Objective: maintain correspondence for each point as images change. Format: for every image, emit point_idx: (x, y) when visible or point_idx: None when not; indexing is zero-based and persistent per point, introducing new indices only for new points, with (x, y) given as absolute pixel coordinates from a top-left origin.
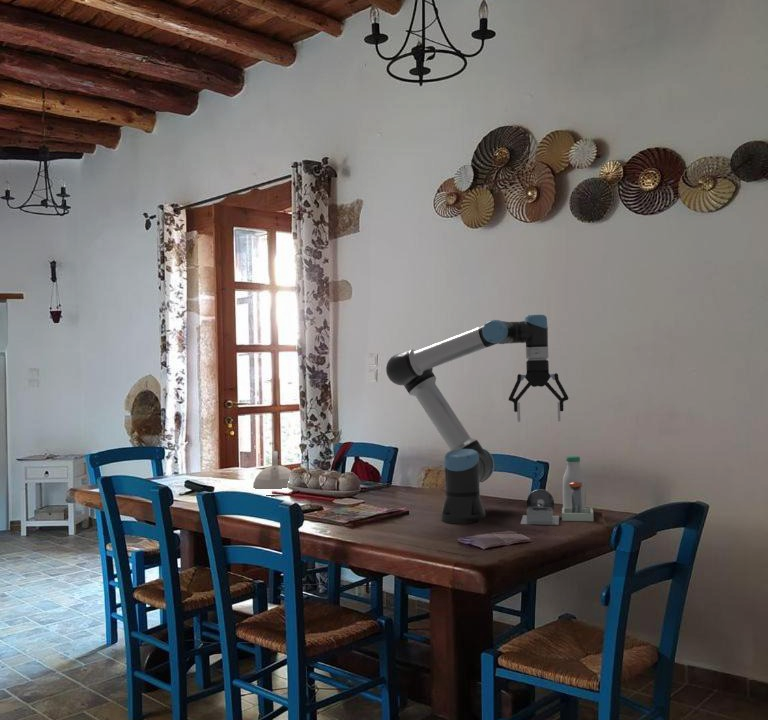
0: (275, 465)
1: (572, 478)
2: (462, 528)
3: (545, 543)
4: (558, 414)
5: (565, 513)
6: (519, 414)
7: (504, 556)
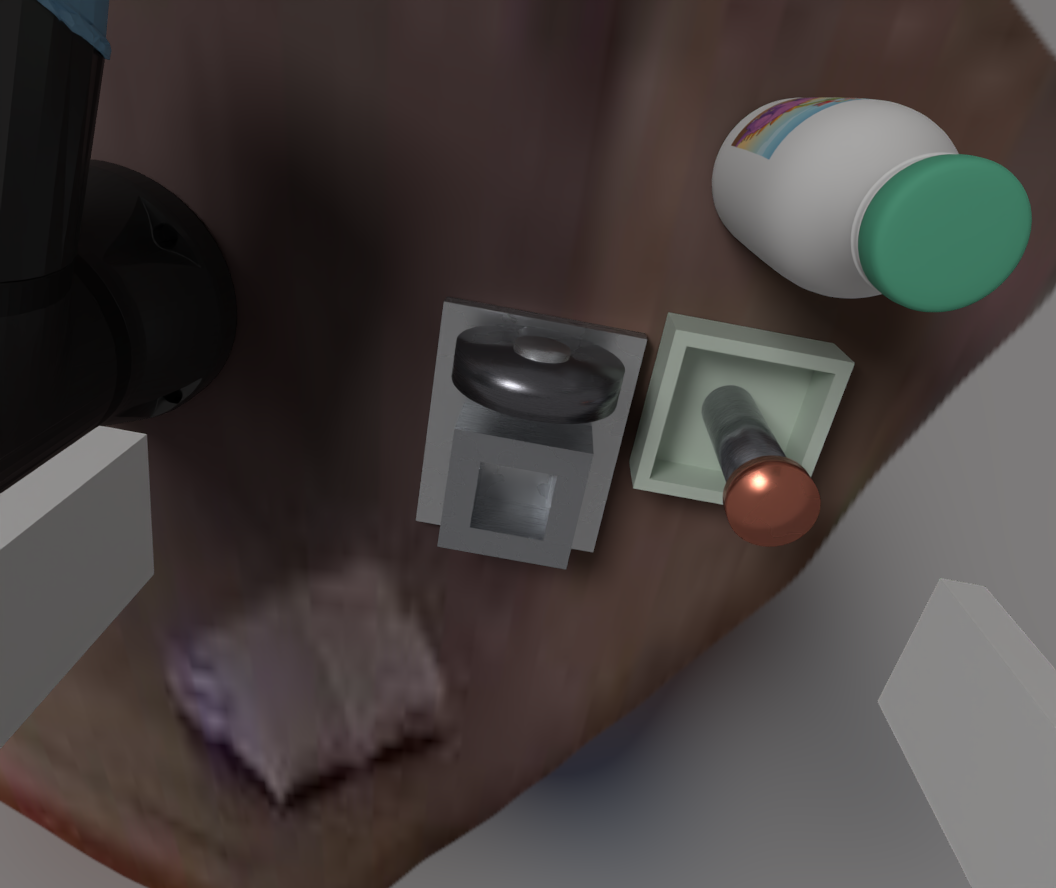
0: None
1: (826, 294)
2: (152, 501)
3: (493, 761)
4: (952, 820)
5: (652, 490)
6: (59, 673)
7: (349, 876)
